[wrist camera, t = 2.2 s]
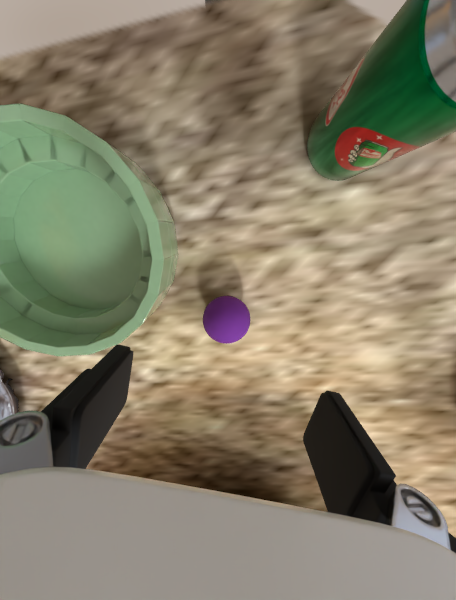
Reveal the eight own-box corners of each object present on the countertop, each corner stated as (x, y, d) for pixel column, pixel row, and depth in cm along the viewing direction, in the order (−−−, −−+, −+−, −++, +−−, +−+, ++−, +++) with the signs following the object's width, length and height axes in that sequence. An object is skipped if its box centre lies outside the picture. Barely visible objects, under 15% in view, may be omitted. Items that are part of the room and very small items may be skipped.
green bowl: (-12, 113, 17) (-109, 66, 12) (195, 169, 18) (182, 147, 13) (-1, 307, 21) (-68, 330, 16) (163, 343, 22) (145, 375, 17)
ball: (210, 286, 20) (206, 298, 17) (253, 296, 21) (258, 311, 17) (201, 325, 22) (195, 346, 18) (242, 334, 22) (244, 357, 18)
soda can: (351, 87, 16) (657, -272, 5) (384, 151, 17) (693, -7, 6) (291, 138, 17) (420, -54, 6) (326, 196, 18) (493, 137, 7)
